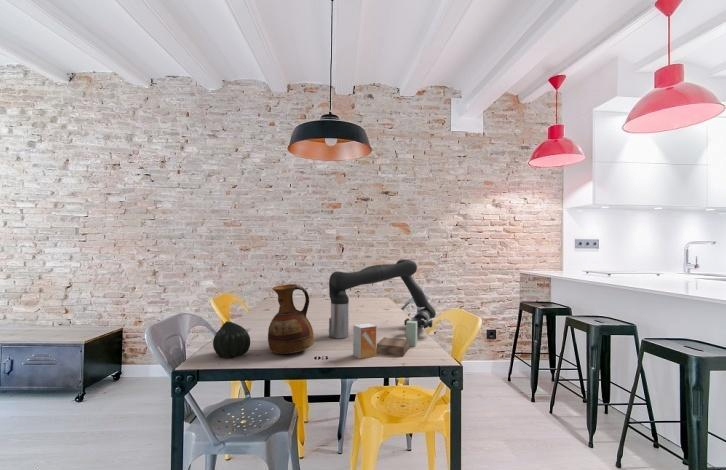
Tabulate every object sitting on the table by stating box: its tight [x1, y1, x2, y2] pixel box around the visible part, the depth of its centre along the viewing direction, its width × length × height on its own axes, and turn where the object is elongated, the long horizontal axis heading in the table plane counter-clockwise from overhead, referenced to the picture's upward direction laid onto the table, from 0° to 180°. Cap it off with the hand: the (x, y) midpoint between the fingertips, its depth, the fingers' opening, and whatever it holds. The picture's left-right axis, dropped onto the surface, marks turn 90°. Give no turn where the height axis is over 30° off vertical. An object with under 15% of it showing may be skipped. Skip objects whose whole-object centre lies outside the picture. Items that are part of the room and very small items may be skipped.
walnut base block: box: [376, 337, 410, 357], centre depth 165 cm, size 12×12×4 cm
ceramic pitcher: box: [267, 283, 315, 355], centre depth 164 cm, size 20×20×30 cm
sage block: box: [405, 319, 418, 348], centre depth 175 cm, size 4×4×11 cm
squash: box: [212, 320, 251, 359], centre depth 158 cm, size 14×15×15 cm
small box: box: [352, 323, 377, 360], centre depth 158 cm, size 8×6×13 cm
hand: (416, 325), depth 186 cm, fingers open, 8 cm apart
